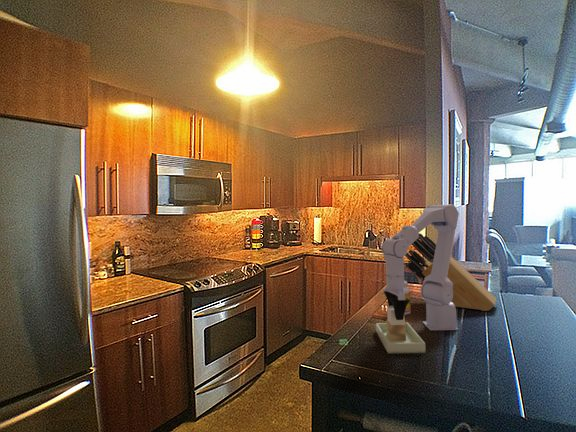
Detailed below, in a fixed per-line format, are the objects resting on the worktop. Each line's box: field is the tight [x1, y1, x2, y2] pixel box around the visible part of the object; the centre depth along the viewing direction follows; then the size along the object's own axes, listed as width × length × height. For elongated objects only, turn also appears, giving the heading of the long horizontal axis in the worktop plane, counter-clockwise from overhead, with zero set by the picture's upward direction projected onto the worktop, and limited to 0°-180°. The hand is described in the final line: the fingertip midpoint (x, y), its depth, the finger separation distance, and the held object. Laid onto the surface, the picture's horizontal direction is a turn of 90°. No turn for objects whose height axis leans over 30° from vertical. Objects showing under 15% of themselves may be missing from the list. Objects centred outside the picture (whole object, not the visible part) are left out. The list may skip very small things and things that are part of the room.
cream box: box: [386, 305, 406, 325], centre depth 110 cm, size 4×4×5 cm
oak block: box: [385, 319, 406, 341], centre depth 110 cm, size 5×5×5 cm
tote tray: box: [375, 322, 427, 355], centre depth 109 cm, size 11×17×3 cm, turn 177°
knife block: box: [404, 232, 497, 312], centre depth 145 cm, size 11×35×31 cm, turn 54°
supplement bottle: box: [404, 280, 412, 316], centre depth 136 cm, size 7×7×13 cm
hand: (396, 315), depth 110 cm, fingers open, 7 cm apart
